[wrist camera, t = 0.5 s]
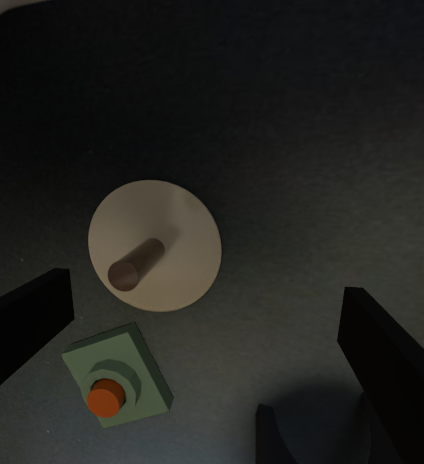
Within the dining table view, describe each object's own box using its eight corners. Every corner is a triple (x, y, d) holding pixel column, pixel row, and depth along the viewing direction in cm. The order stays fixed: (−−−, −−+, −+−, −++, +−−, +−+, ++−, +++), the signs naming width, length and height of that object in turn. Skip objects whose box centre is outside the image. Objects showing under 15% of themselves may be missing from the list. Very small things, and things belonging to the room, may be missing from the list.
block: (71, 344, 37) (50, 364, 33) (134, 322, 35) (121, 341, 31) (111, 414, 39) (96, 442, 35) (173, 397, 37) (165, 424, 33)
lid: (71, 210, 32) (5, 226, 23) (189, 156, 29) (165, 151, 20) (128, 322, 35) (89, 375, 26) (242, 283, 32) (242, 327, 23)
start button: (88, 382, 33) (80, 394, 32) (116, 374, 33) (109, 385, 31) (103, 408, 34) (96, 421, 32) (130, 401, 33) (124, 413, 32)
